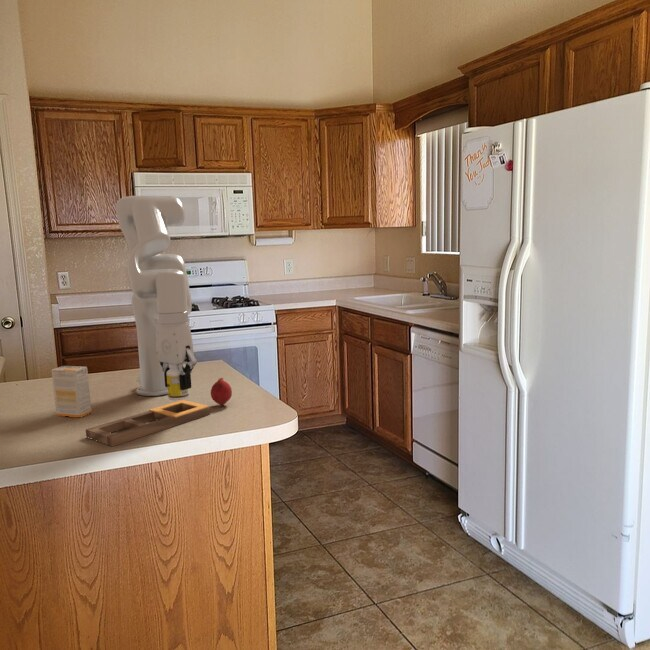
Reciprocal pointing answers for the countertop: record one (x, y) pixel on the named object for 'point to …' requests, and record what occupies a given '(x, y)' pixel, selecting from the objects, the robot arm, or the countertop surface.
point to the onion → (221, 392)
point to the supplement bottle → (175, 384)
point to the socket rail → (138, 428)
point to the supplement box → (71, 391)
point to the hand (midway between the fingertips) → (178, 386)
